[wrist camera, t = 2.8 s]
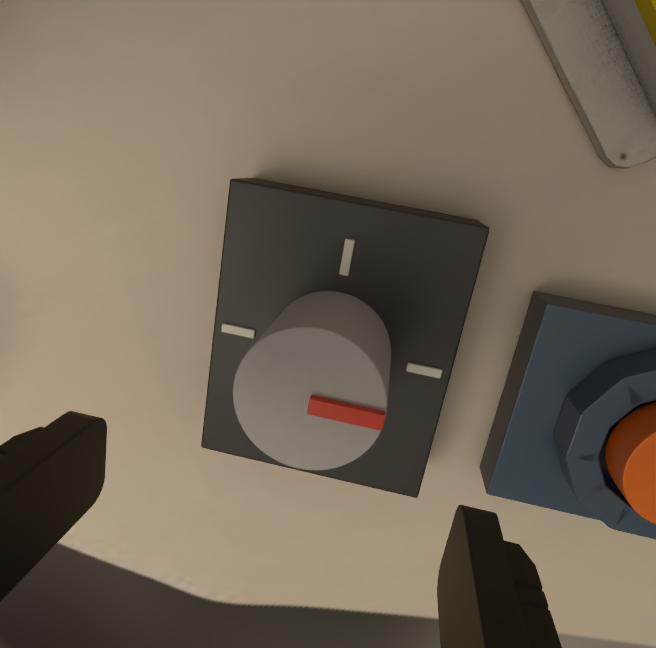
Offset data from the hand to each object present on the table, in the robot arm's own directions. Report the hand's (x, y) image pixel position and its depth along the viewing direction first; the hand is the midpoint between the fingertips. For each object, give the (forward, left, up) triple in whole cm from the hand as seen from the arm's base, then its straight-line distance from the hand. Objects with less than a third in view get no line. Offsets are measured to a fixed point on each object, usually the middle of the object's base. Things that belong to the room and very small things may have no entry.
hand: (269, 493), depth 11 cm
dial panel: (0, 0, -13) cm, 13 cm away
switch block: (+13, -1, -13) cm, 19 cm away
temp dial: (0, 0, -10) cm, 10 cm away
